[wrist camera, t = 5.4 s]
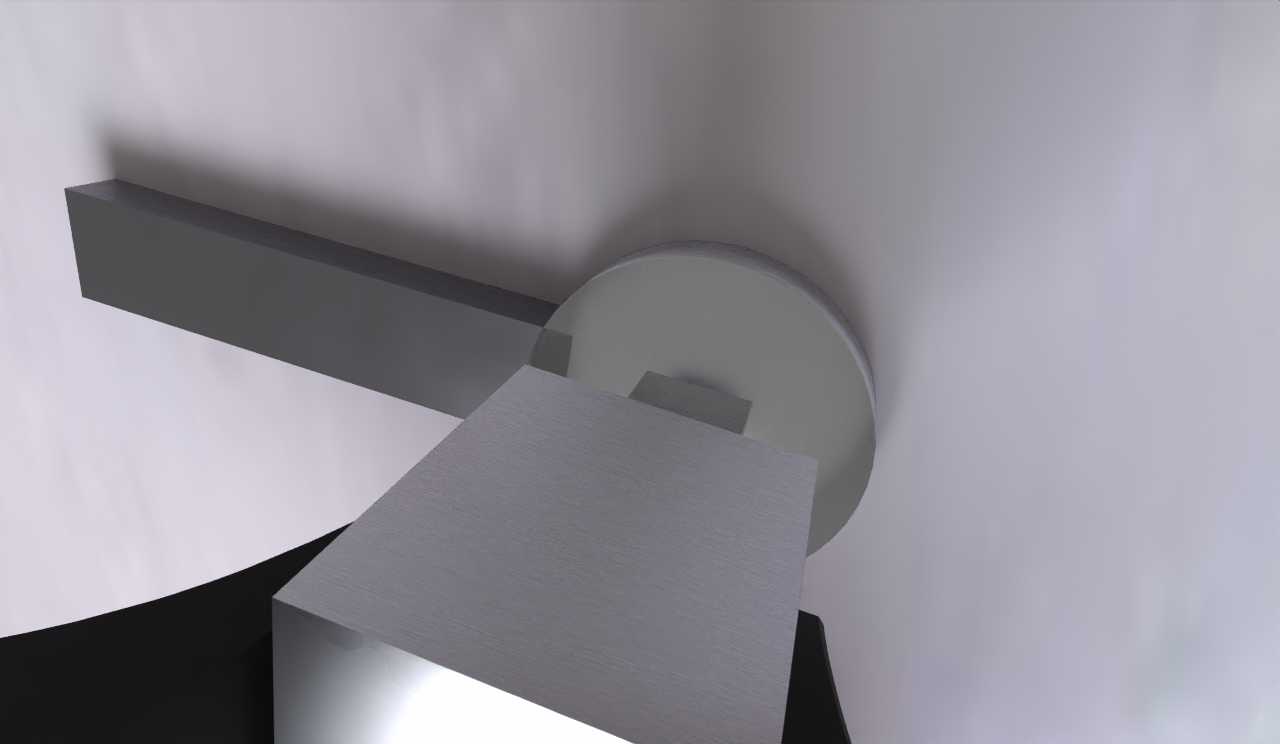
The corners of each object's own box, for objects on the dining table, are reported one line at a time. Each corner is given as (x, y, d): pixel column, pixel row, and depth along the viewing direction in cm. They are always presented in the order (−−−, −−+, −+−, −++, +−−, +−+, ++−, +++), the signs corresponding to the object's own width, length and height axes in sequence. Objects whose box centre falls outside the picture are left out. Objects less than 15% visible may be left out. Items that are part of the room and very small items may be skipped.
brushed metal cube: (734, 680, 14) (650, 1069, 9) (490, 587, 15) (276, 891, 9) (818, 460, 12) (773, 801, 6) (525, 364, 13) (271, 596, 7)
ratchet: (819, 583, 19) (801, 744, 15) (140, 357, 23) (-35, 432, 19) (927, 293, 16) (945, 392, 11) (104, 82, 19) (-124, 94, 15)
